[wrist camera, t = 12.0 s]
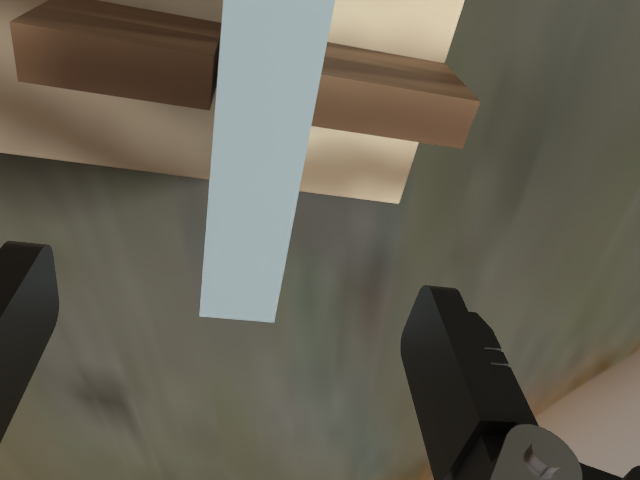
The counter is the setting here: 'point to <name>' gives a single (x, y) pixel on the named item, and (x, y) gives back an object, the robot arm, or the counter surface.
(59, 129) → the birch board
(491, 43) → the counter surface
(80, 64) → the walnut slotted plate
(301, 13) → the slotted cross plate
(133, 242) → the counter surface
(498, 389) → the robot arm
